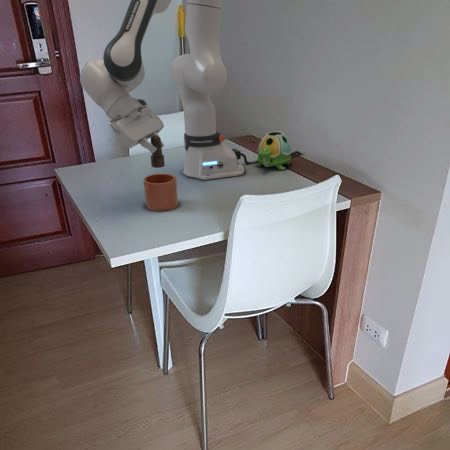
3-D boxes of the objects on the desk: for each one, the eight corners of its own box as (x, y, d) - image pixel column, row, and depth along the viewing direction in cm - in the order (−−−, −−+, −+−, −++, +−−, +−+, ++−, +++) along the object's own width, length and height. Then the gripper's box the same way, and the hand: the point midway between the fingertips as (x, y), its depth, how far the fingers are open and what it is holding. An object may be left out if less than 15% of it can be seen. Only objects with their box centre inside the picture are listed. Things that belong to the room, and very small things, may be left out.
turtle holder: (246, 172, 180) (247, 139, 174) (265, 158, 194) (266, 127, 187) (278, 176, 175) (279, 142, 169) (295, 162, 189) (297, 130, 182)
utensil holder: (177, 198, 159) (175, 172, 154) (179, 209, 151) (177, 182, 146) (146, 200, 158) (143, 174, 153) (146, 212, 150) (143, 185, 145)
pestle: (164, 163, 149) (161, 133, 144) (165, 167, 146) (162, 136, 141) (151, 164, 149) (148, 134, 144) (151, 168, 146) (148, 137, 141)
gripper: (112, 112, 132) (148, 151, 135) (147, 98, 148) (178, 134, 151) (100, 128, 136) (135, 166, 138) (136, 113, 152) (167, 147, 154)
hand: (158, 149), depth 145 cm, fingers closed on pestle, 3 cm apart
